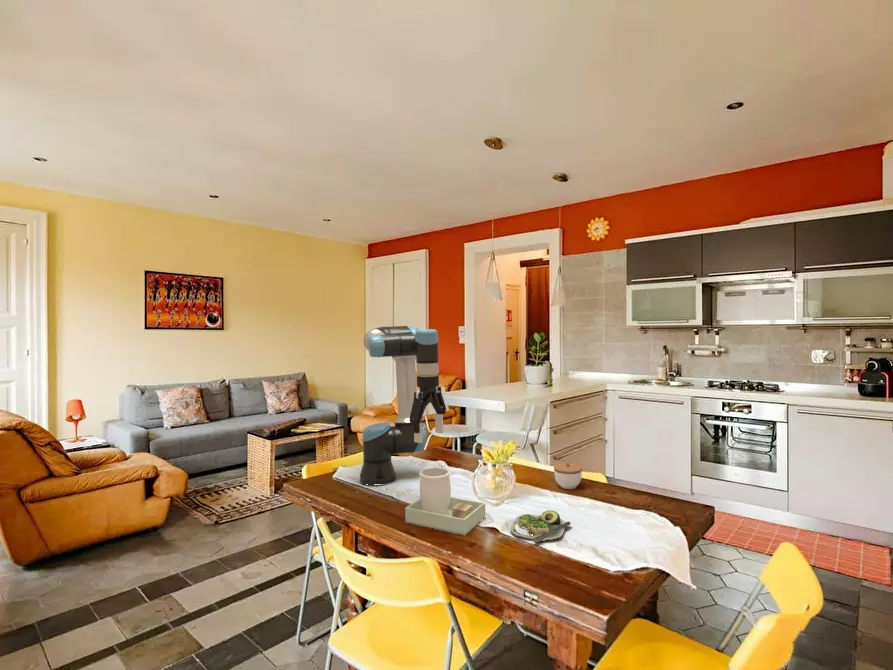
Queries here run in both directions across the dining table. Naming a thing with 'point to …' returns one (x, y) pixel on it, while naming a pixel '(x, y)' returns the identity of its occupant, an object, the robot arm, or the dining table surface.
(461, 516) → the cube
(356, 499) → the dining table surface
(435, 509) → the jar
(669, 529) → the dining table surface
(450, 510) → the tote
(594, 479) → the dining table surface
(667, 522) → the dining table surface
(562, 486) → the lidded jar
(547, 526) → the avocado toast plate
